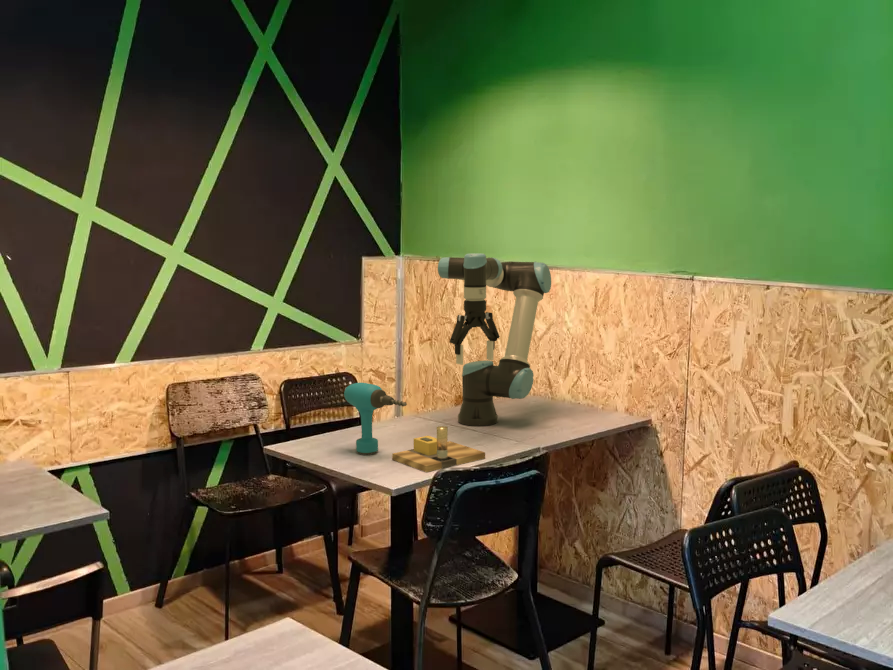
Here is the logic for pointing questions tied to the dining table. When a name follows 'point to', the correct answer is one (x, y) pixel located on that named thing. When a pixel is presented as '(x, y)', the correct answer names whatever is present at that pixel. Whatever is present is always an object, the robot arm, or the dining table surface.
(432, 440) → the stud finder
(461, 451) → the subfloor panel
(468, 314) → the robot arm
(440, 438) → the brass cylinder rod
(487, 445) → the dining table surface
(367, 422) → the power drill
